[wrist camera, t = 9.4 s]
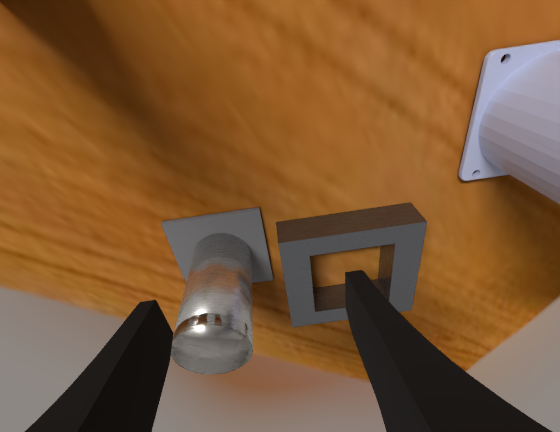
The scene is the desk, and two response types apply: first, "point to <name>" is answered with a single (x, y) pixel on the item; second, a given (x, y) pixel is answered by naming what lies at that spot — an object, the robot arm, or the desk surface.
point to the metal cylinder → (216, 308)
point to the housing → (348, 236)
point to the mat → (237, 223)
